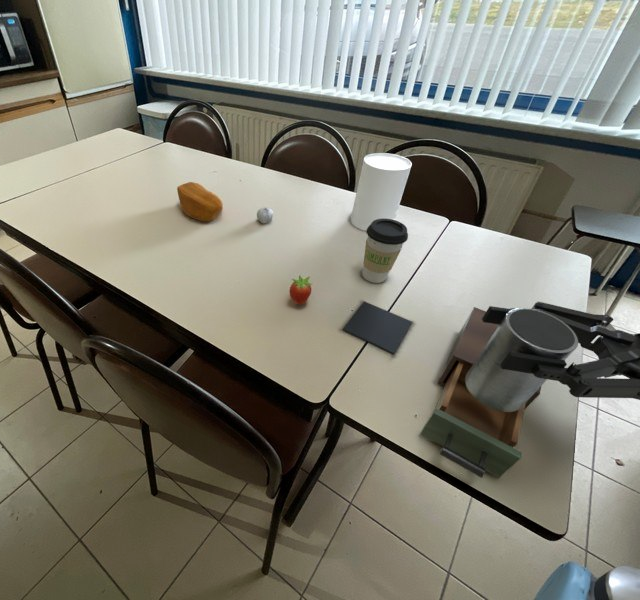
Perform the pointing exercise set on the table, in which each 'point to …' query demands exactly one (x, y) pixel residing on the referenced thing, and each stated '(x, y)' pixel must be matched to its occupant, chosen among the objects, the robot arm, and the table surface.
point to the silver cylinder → (520, 337)
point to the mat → (378, 327)
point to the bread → (199, 202)
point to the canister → (379, 188)
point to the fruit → (300, 290)
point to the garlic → (265, 215)
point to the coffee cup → (382, 248)
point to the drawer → (473, 429)
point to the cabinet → (472, 346)
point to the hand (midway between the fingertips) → (495, 335)
